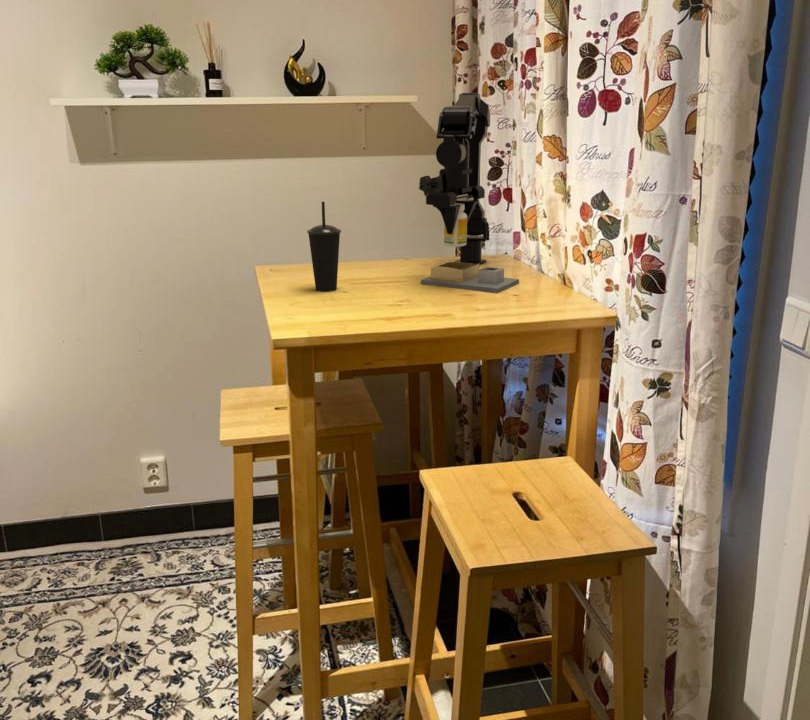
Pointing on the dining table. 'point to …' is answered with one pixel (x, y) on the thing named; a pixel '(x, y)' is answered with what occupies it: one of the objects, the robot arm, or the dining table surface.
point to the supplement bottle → (457, 230)
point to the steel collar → (491, 275)
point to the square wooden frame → (454, 271)
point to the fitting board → (473, 284)
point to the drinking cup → (324, 254)
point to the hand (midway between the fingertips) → (455, 232)
